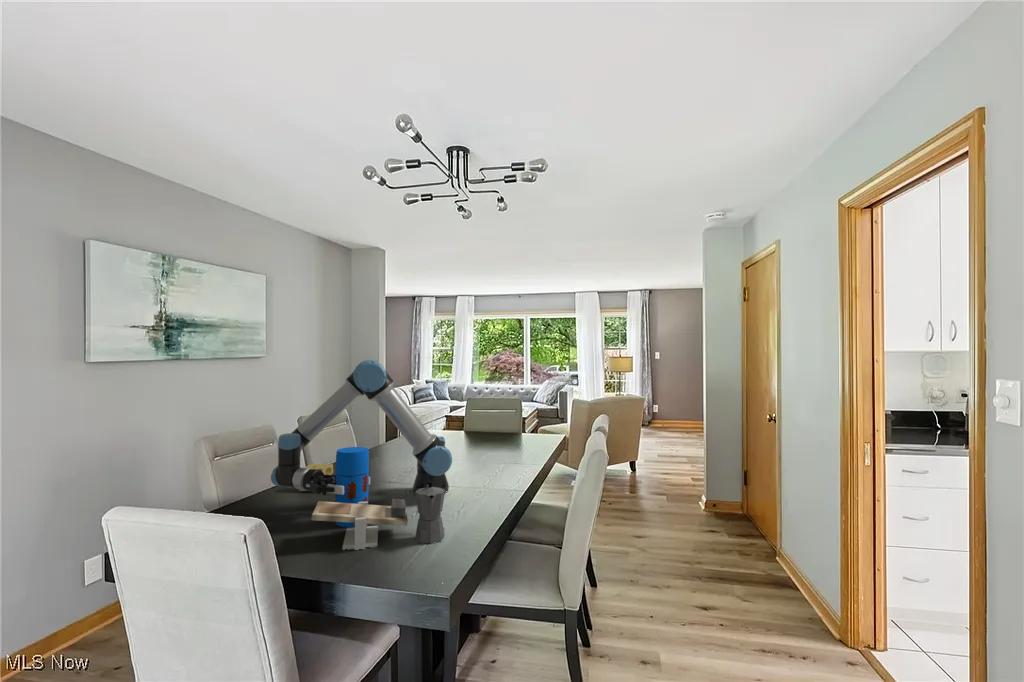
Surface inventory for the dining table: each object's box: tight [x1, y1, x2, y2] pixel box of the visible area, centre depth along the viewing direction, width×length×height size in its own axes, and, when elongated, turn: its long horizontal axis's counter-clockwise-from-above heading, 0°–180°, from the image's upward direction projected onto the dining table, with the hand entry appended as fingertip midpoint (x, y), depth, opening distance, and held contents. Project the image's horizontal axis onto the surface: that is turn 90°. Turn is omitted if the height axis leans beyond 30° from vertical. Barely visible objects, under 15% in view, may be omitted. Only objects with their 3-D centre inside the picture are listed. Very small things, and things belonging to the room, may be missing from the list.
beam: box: [311, 498, 408, 527], centre depth 157 cm, size 28×14×5 cm, turn 104°
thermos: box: [334, 446, 370, 528], centre depth 172 cm, size 11×11×25 cm
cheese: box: [298, 463, 334, 493], centre depth 214 cm, size 10×11×10 cm
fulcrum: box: [342, 500, 379, 551], centre depth 157 cm, size 10×18×9 cm, turn 14°
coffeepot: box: [414, 481, 446, 544], centre depth 158 cm, size 15×9×18 cm, turn 13°
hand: (357, 485), depth 171 cm, fingers open, 13 cm apart
